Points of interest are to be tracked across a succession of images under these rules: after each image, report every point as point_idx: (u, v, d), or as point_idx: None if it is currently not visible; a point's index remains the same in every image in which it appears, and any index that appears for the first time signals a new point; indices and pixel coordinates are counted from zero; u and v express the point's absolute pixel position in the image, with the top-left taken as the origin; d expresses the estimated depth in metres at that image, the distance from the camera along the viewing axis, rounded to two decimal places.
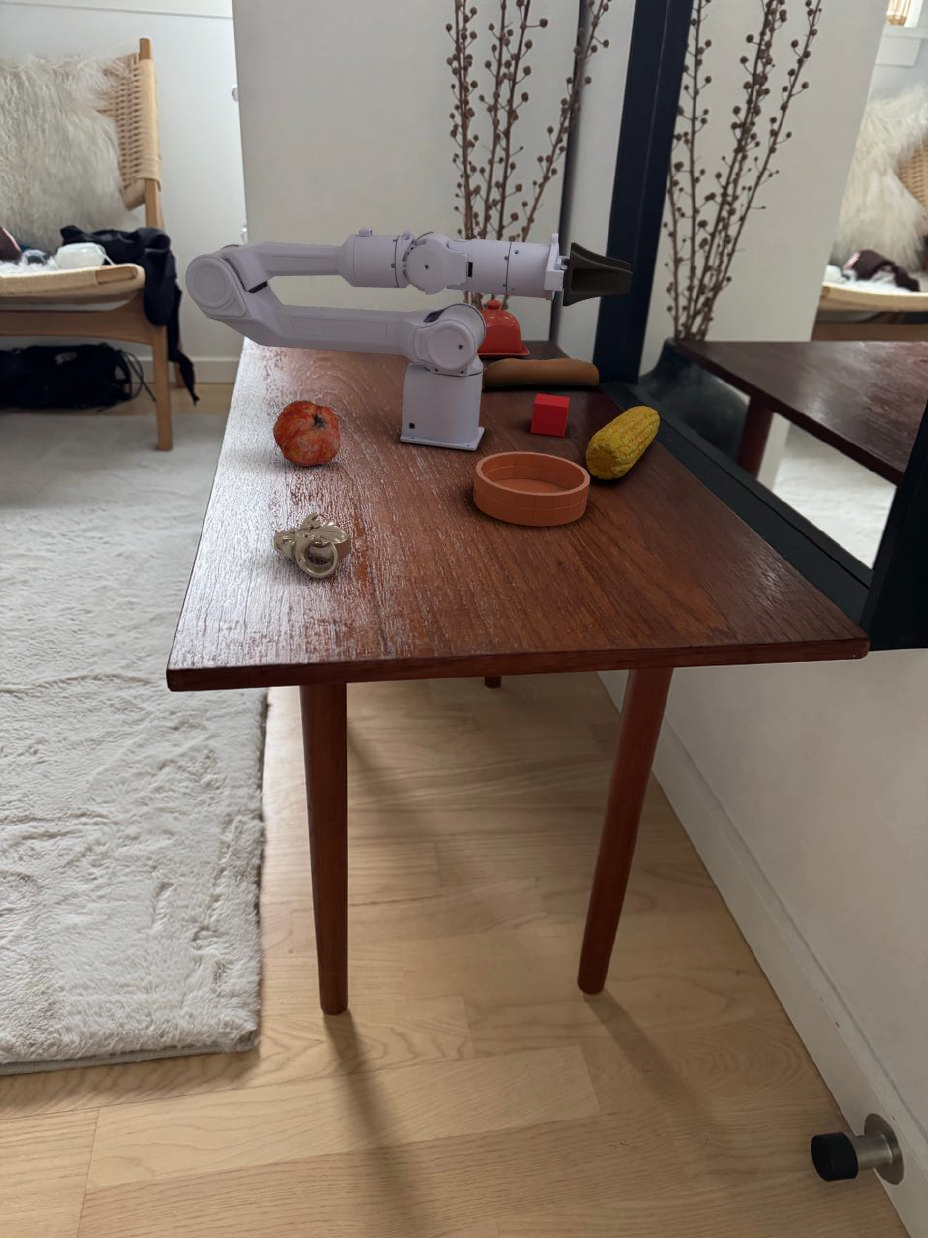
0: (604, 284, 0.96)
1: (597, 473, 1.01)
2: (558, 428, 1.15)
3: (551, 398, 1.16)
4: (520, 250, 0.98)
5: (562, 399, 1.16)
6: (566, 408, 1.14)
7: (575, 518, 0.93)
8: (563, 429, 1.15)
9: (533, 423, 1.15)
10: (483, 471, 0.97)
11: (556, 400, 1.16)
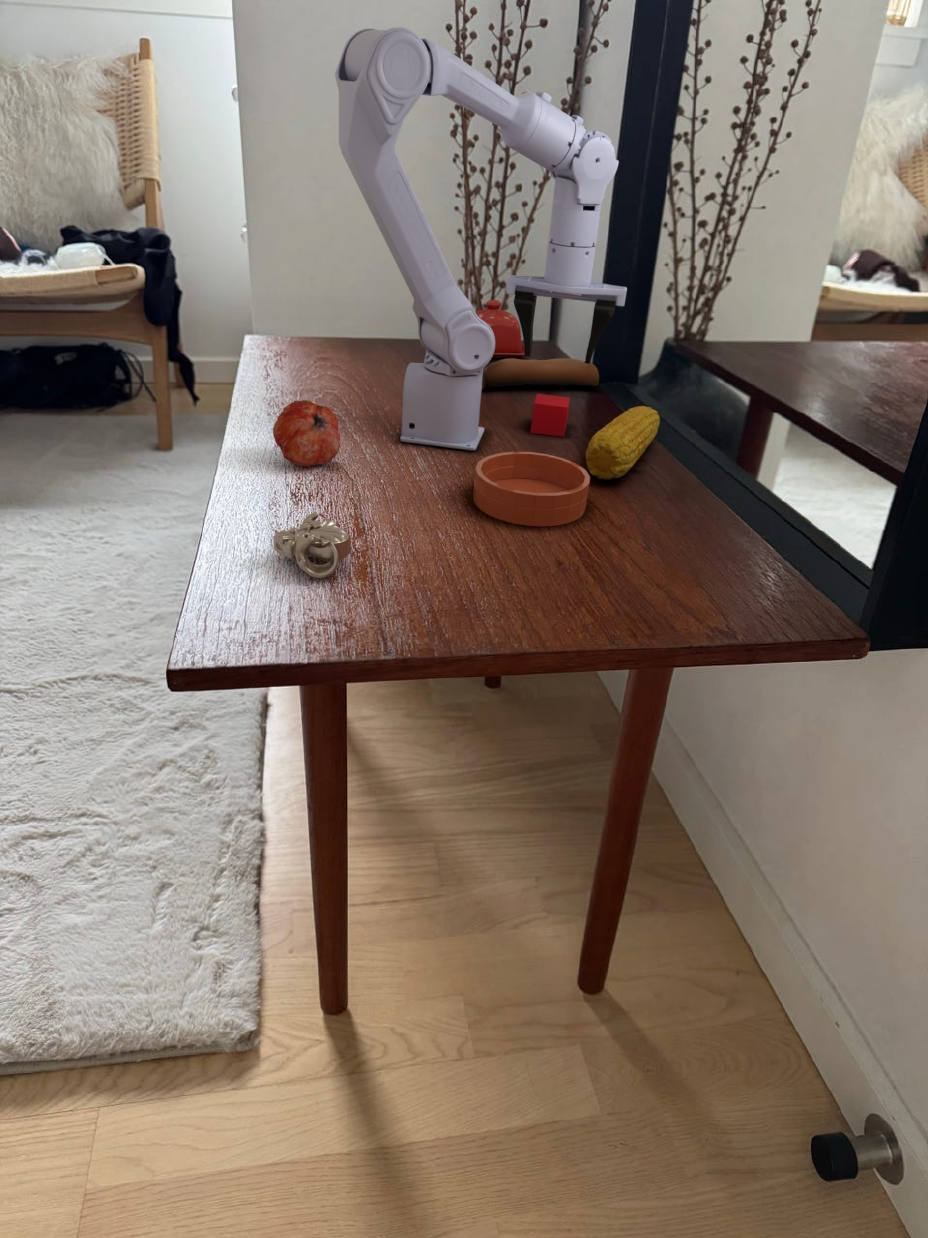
0: None
1: (597, 473, 1.01)
2: (558, 428, 1.15)
3: (551, 398, 1.16)
4: None
5: (562, 399, 1.16)
6: (566, 408, 1.14)
7: (575, 518, 0.93)
8: (563, 429, 1.15)
9: (533, 423, 1.15)
10: (483, 471, 0.97)
11: (556, 400, 1.16)
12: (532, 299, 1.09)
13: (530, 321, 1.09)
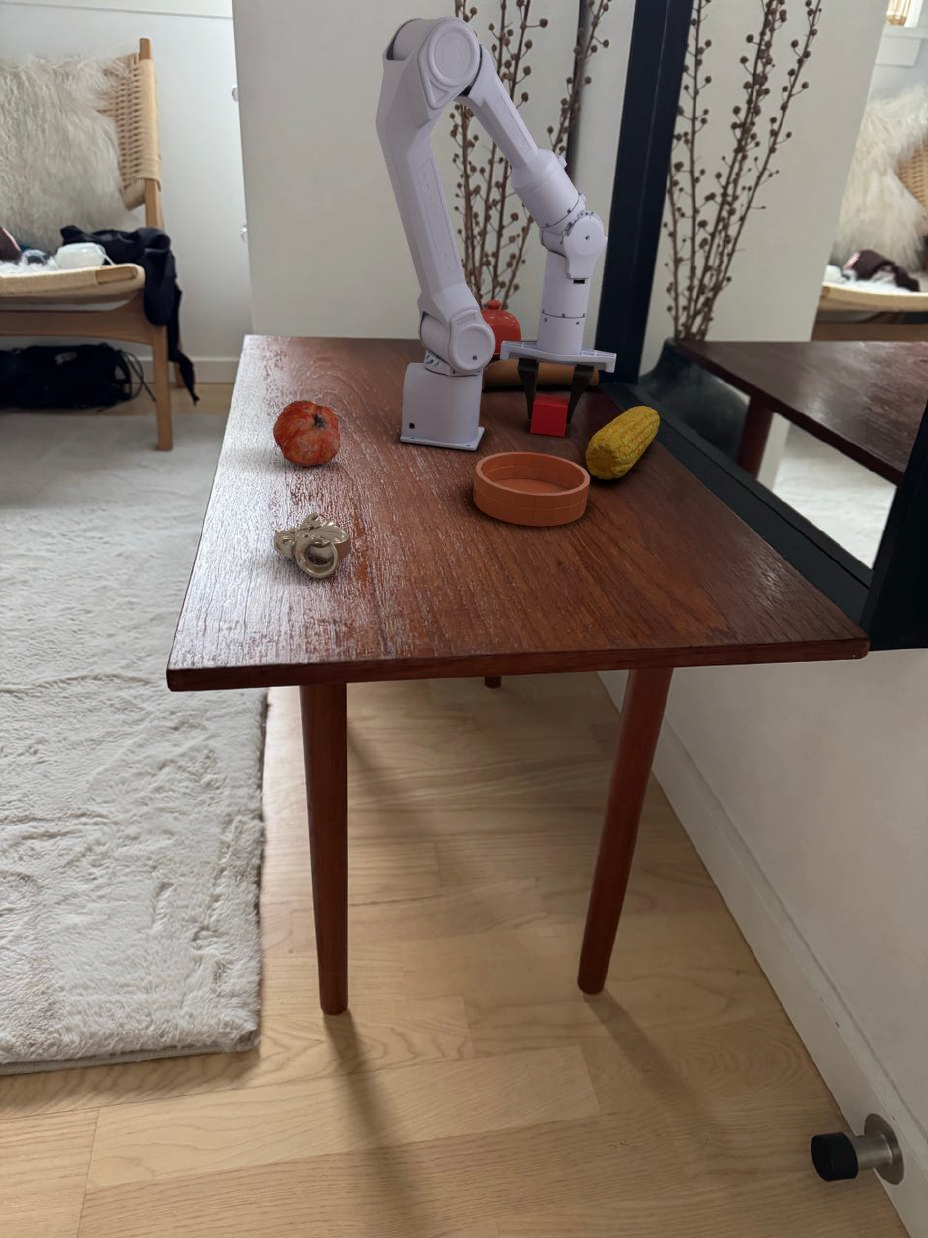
0: None
1: (597, 473, 1.01)
2: (558, 428, 1.15)
3: (551, 398, 1.16)
4: None
5: (561, 399, 1.16)
6: (566, 408, 1.14)
7: (575, 518, 0.93)
8: (563, 429, 1.15)
9: (533, 423, 1.15)
10: (483, 471, 0.97)
11: (556, 400, 1.16)
12: (535, 366, 1.13)
13: (533, 387, 1.13)
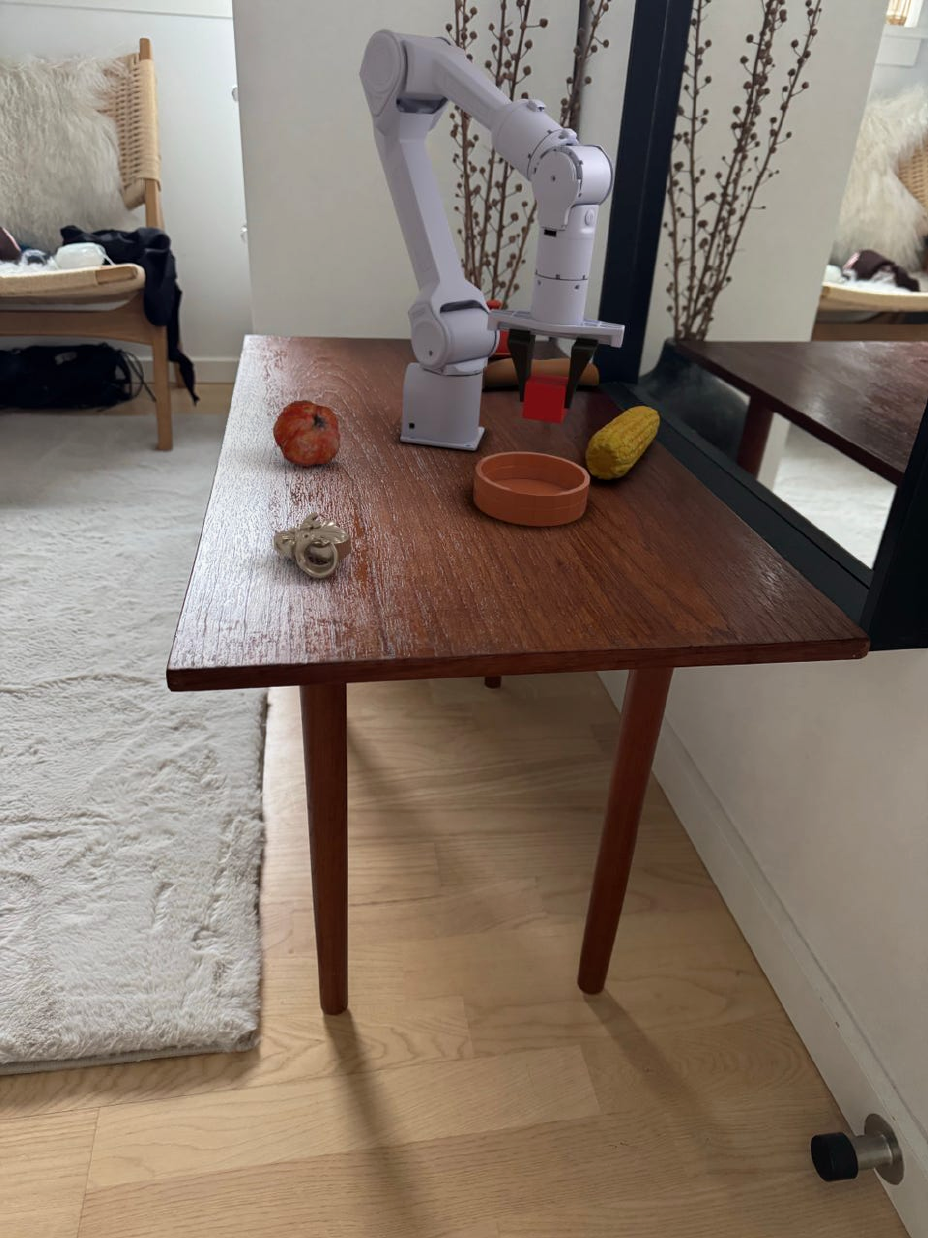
0: None
1: (597, 473, 1.01)
2: (554, 413, 0.98)
3: (548, 378, 0.99)
4: None
5: (560, 379, 0.99)
6: (563, 389, 0.96)
7: (575, 518, 0.93)
8: (560, 414, 0.98)
9: (525, 406, 0.98)
10: (483, 471, 0.97)
11: (553, 380, 0.98)
12: (528, 339, 0.95)
13: (525, 363, 0.96)
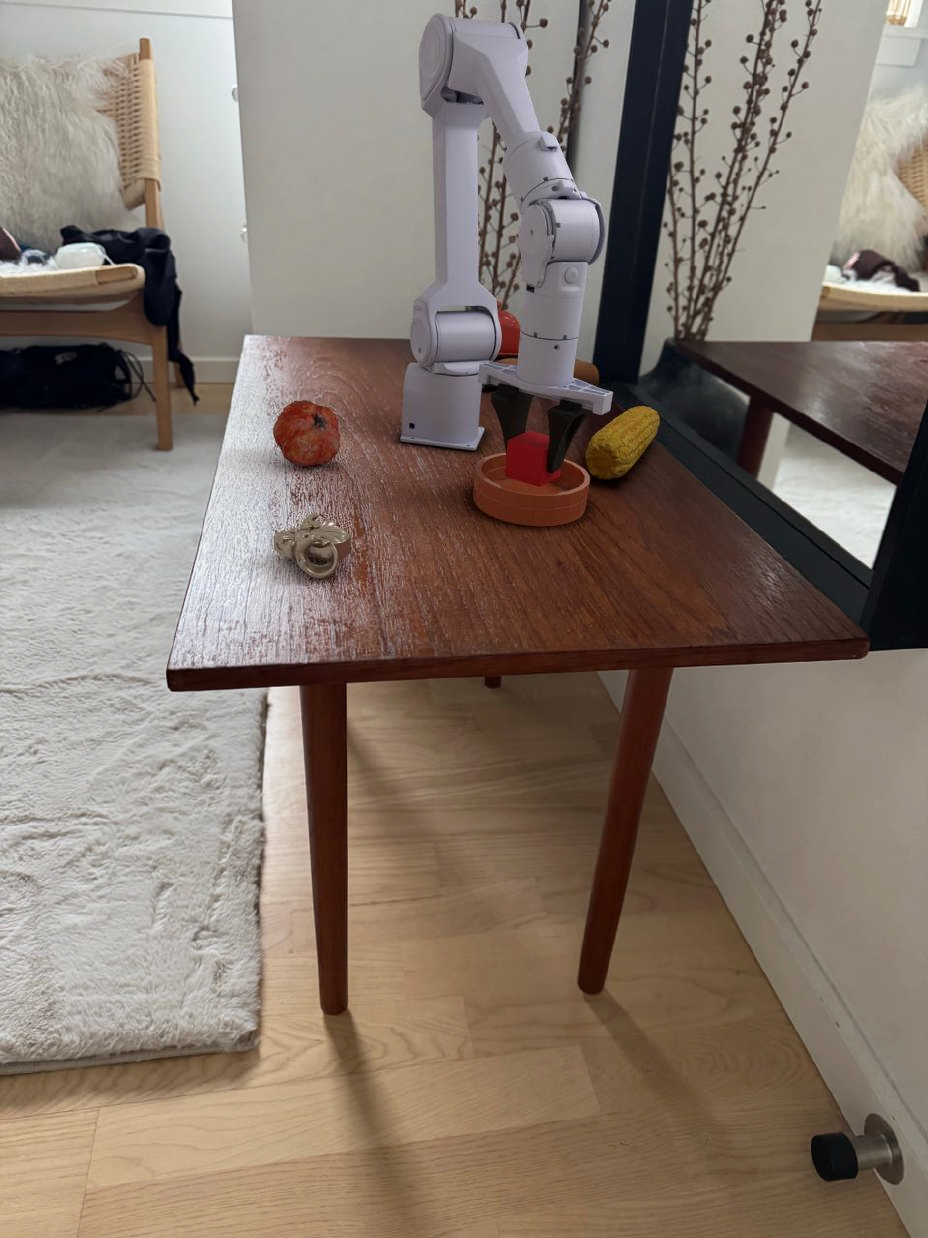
0: (559, 446, 0.91)
1: (597, 473, 1.01)
2: (533, 476, 0.92)
3: (537, 438, 0.93)
4: None
5: None
6: (542, 452, 0.90)
7: (575, 518, 0.93)
8: (539, 478, 0.92)
9: (507, 465, 0.93)
10: (483, 471, 0.97)
11: (540, 441, 0.93)
12: (514, 395, 0.91)
13: (509, 421, 0.92)
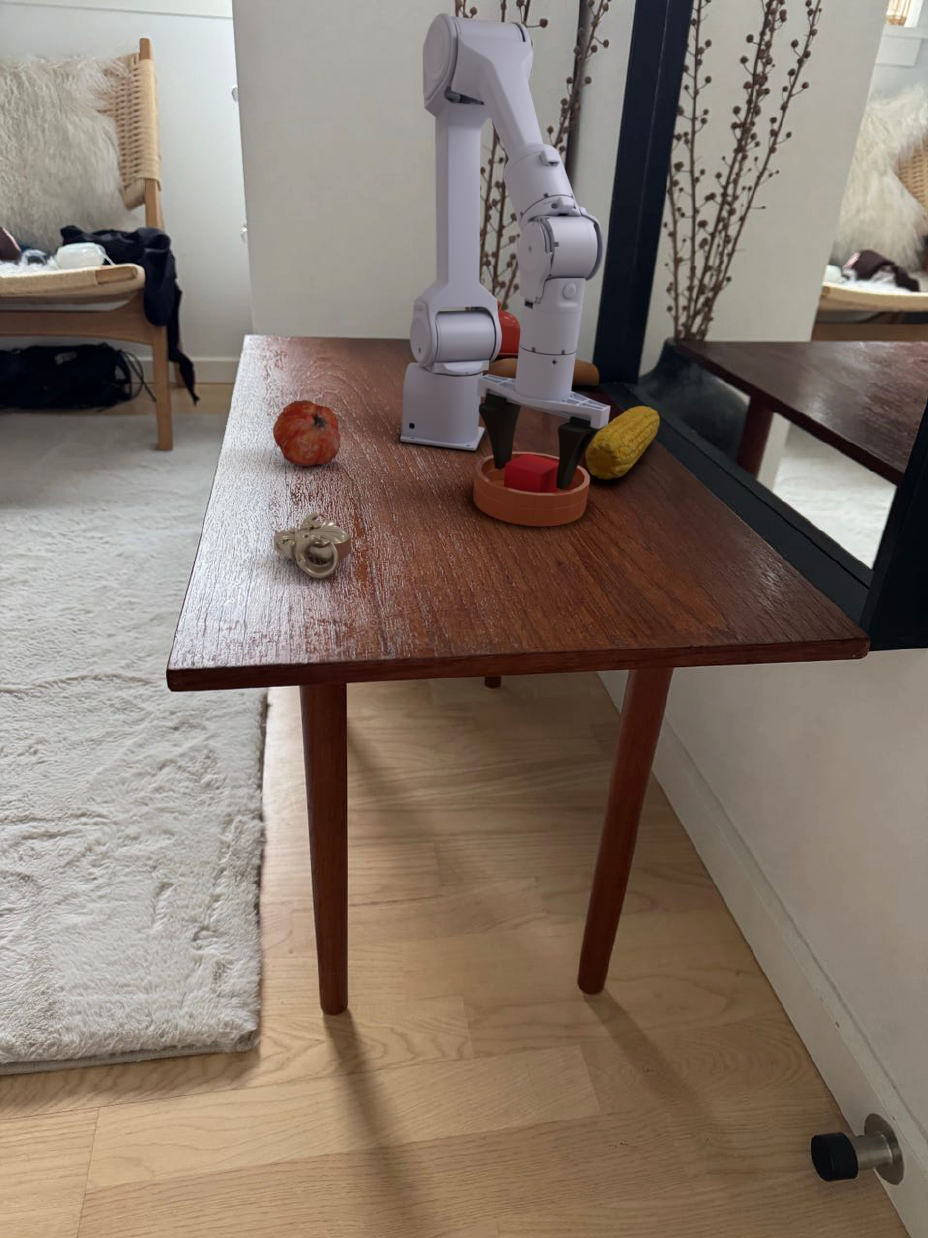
0: (569, 462, 0.91)
1: (597, 473, 1.01)
2: None
3: (534, 461, 0.94)
4: None
5: (548, 463, 0.94)
6: (539, 475, 0.92)
7: (575, 518, 0.93)
8: None
9: None
10: (483, 471, 0.97)
11: (538, 464, 0.94)
12: (502, 406, 0.92)
13: (496, 430, 0.93)
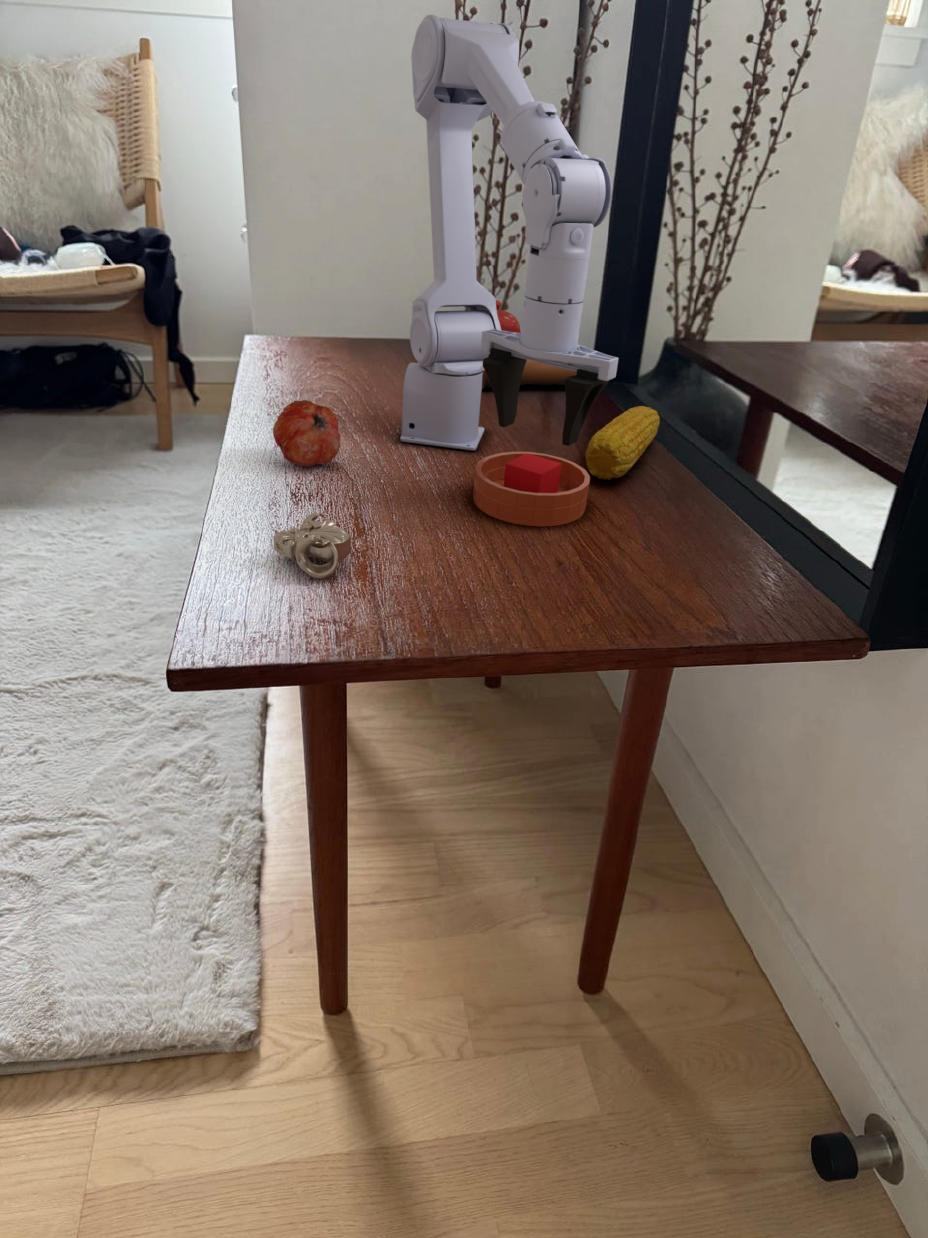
0: (576, 417, 0.89)
1: (597, 473, 1.01)
2: None
3: (534, 461, 0.94)
4: None
5: (548, 463, 0.94)
6: (539, 475, 0.92)
7: (575, 518, 0.93)
8: None
9: None
10: (483, 471, 0.97)
11: (538, 464, 0.94)
12: (506, 360, 0.90)
13: (501, 386, 0.91)
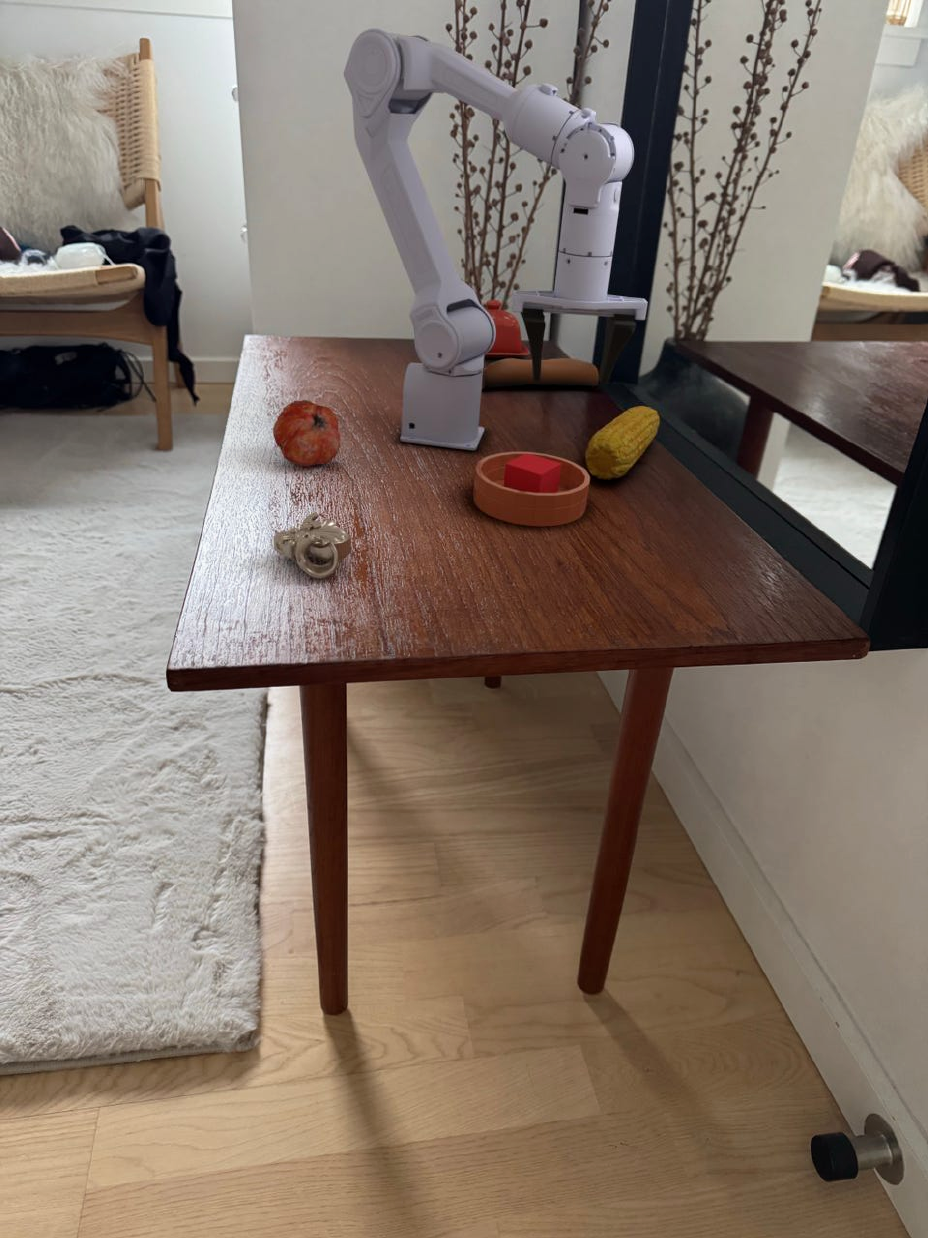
0: None
1: (597, 473, 1.01)
2: None
3: (534, 461, 0.94)
4: None
5: (548, 463, 0.94)
6: (539, 475, 0.92)
7: (575, 518, 0.93)
8: None
9: None
10: (483, 471, 0.97)
11: (538, 464, 0.94)
12: (542, 317, 0.96)
13: (542, 341, 0.97)
